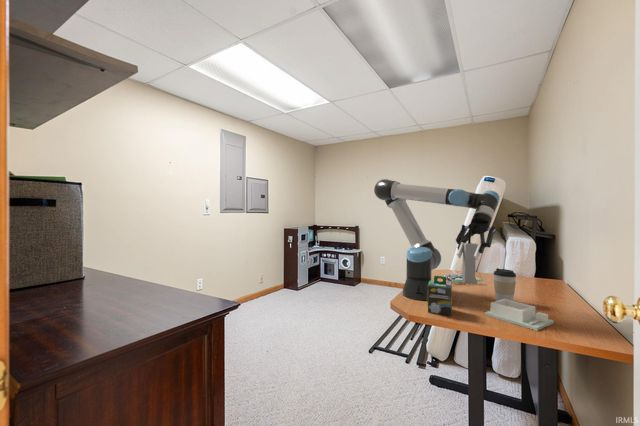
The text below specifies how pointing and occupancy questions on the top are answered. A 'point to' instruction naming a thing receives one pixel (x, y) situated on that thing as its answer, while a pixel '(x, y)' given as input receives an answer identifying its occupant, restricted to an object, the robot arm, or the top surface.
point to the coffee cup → (504, 284)
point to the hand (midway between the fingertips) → (466, 256)
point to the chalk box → (440, 296)
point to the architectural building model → (518, 314)
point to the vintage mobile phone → (469, 261)
